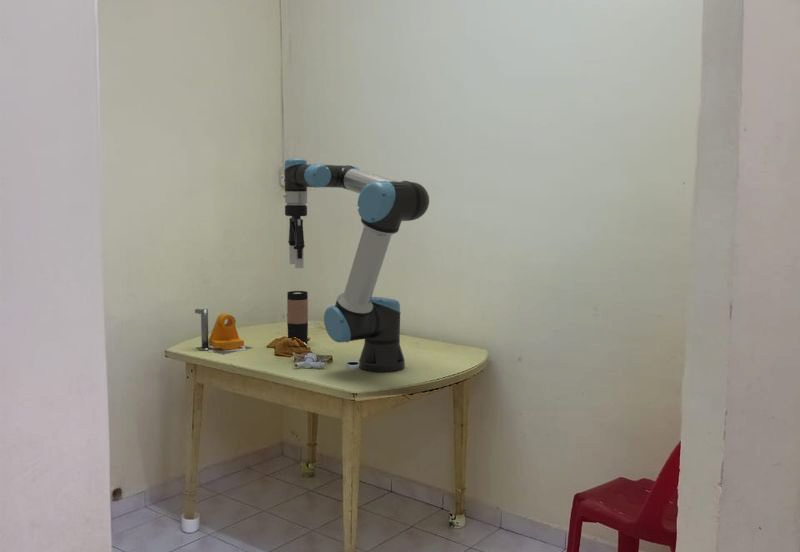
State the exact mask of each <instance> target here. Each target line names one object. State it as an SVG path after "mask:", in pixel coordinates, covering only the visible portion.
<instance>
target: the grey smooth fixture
mask: <svg viewBox="0 0 800 552" xmlns="http://www.w3.org/2000/svg"><path fill="white" fill-rule="evenodd" d="M194 313H195V314H198V315H200V325H201V327H200V328H201V346H199V347H200V348H199V349H198V351H201V352H208V350H211V349H212V348H211V347H209V308H202V309H201V308H195V309H194Z"/></svg>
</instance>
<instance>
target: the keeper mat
mask: <svg viewBox="0 0 800 552" xmlns="http://www.w3.org/2000/svg"><path fill="white" fill-rule="evenodd" d="M200 347H201V346H198V347H194V349H196V350H199V348H200ZM209 347H211V348H212V349H211V350H208V351H207V352H208V353H215V354H219V355H228V354H232V353H237V352H241V351H246V350H251V349H254V347H252V346H248V345H247V346H246V345H244V346H239V347H238V349H229V350H222V349H220V348H215V347H213V346H211V345H209Z"/></svg>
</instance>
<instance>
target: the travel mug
mask: <svg viewBox="0 0 800 552" xmlns="http://www.w3.org/2000/svg"><path fill="white" fill-rule="evenodd" d="M308 292H309V291H304V290H291V291H290V290H289V291H287V294H286V295H287V296H286V297H287V298H286V300H287V305H286V306H287V307H286V308H287V309H286V311H287V314H286V317H287V318H286V319H287V320H286V321H287V322H286V324H287V339H288V338H291V337H296V338H298V339H300V340H301V341H303V342H305V343H306V344H307V345H308V337H309V336H308V335H309V334H308V333H309V330H308V329H309V313H308V312H309V308H308V307H309V305H308V303H309V299H308V296H309V295H308Z"/></svg>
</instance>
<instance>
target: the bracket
mask: <svg viewBox="0 0 800 552" xmlns="http://www.w3.org/2000/svg"><path fill="white" fill-rule="evenodd" d="M235 318H236V317H234V316H233V315H231V314H228V313H224V312H223V313H220V314H219V315H218V316H217V318H216V320H215V323H214V325H213V328H212V331H211V332H210V336H209V337H208V340H209V345H211V346H213V347H215V348H220V349H222V350H229V349H238V347H239V346H245V340H244V339H241V338H240V337H239V333H238V330H237V328H236V319H235ZM226 320H227V321H226ZM225 322H226V323H225Z"/></svg>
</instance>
